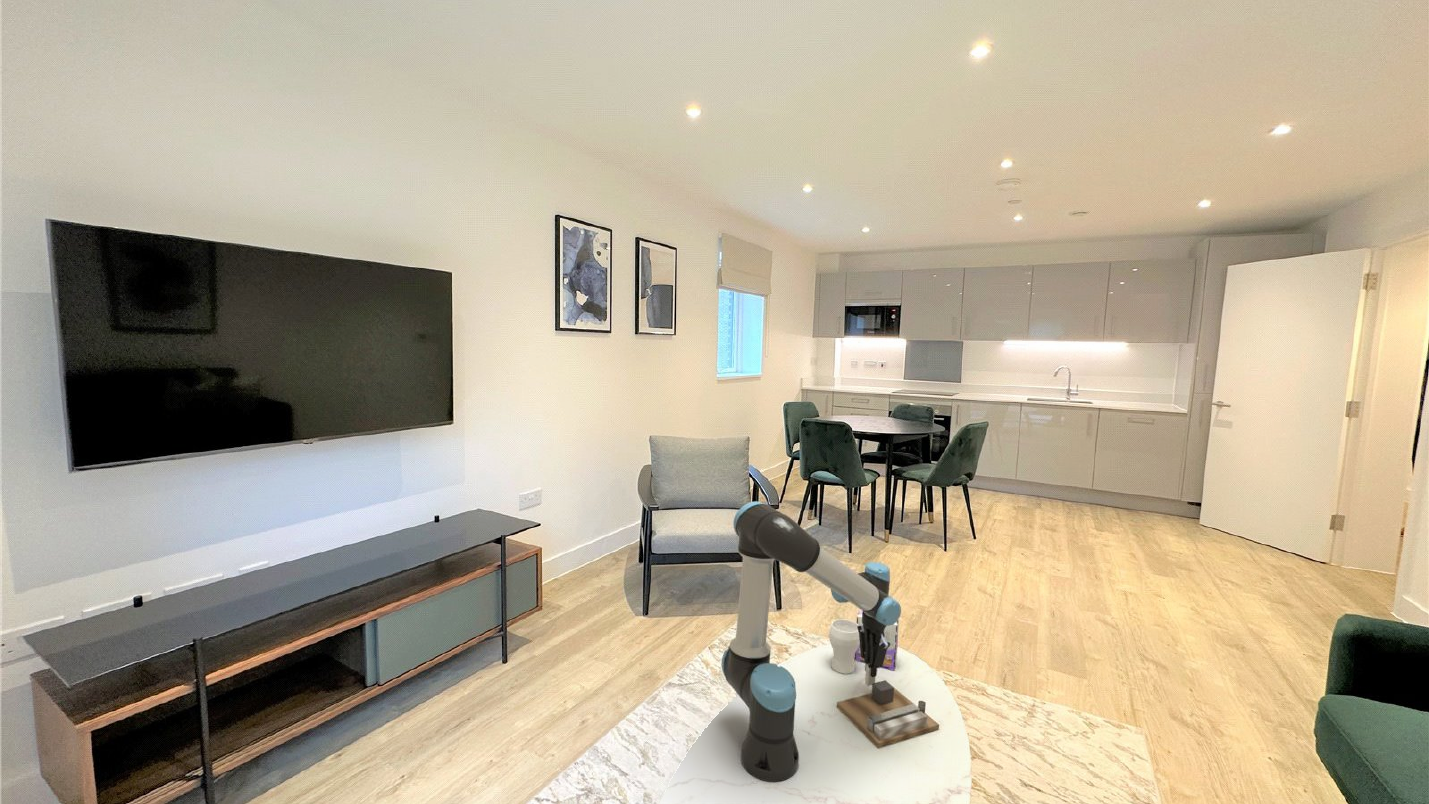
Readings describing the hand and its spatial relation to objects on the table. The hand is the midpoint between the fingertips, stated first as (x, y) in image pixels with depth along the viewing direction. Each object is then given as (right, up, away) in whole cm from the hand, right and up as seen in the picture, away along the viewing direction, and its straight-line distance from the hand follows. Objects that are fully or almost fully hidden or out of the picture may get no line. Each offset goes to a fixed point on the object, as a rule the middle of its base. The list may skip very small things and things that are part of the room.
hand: (869, 684), depth 175 cm
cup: (-5, -2, +14) cm, 16 cm away
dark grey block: (+2, -2, -5) cm, 6 cm away
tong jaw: (+2, -3, -16) cm, 17 cm away
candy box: (+7, -2, +19) cm, 20 cm away
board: (+2, -4, -11) cm, 12 cm away
